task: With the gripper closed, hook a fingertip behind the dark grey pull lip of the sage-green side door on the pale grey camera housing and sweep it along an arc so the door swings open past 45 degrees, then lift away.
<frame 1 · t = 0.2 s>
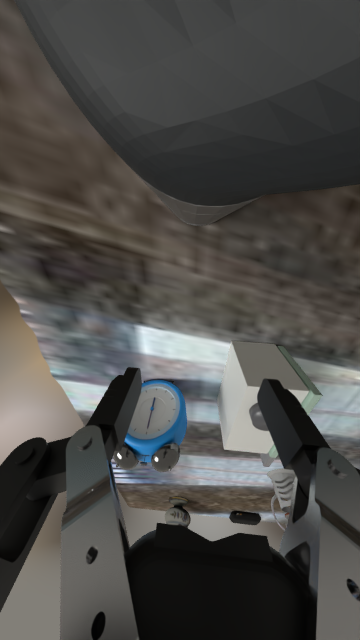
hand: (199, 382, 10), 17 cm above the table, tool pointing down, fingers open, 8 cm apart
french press: (278, 473, 56), on the table
side door: (273, 408, 30), point 5 cm above the table, hinge at 0.0°
camera housing: (241, 375, 34), on the table
apothecary jar: (178, 499, 78), on the table
alarm clock: (160, 386, 38), on the table
carrying case or bag: (244, 512, 83), on the table
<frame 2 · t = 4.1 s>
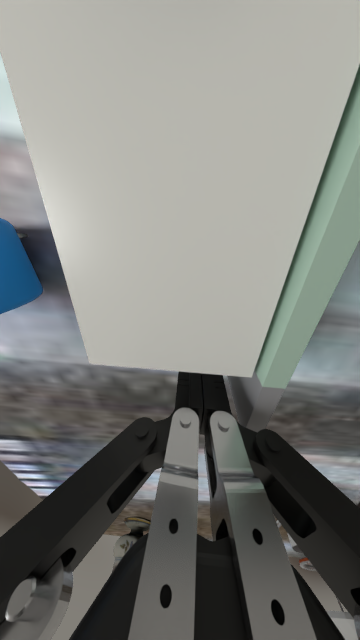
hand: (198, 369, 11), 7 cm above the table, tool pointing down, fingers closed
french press: (285, 480, 33), on the table
side door: (271, 217, 8), point 6 cm above the table, hinge at 0.1°, touching gripper
camera housing: (186, 194, 13), on the table
apothecary jar: (138, 520, 54), on the table
alarm clock: (10, 261, 16), on the table
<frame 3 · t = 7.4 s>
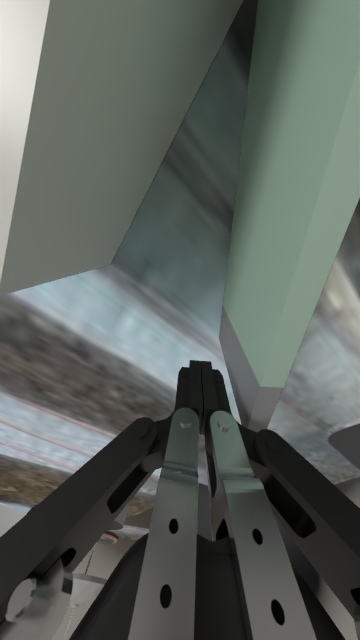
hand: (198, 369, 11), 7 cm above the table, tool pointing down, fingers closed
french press: (117, 463, 36), on the table
side door: (262, 217, 8), point 5 cm above the table, hinge at 37.8°, touching gripper
camera housing: (113, 121, 11), on the table
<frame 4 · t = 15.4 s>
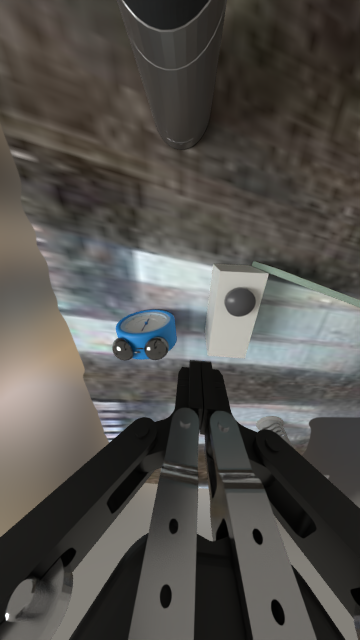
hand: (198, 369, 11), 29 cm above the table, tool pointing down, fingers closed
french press: (267, 424, 60), on the table
side door: (312, 286, 31), point 5 cm above the table, hinge at 73.5°
camera housing: (224, 302, 39), on the table
alarm clock: (154, 318, 43), on the table
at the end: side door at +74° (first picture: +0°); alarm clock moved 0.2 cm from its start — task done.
